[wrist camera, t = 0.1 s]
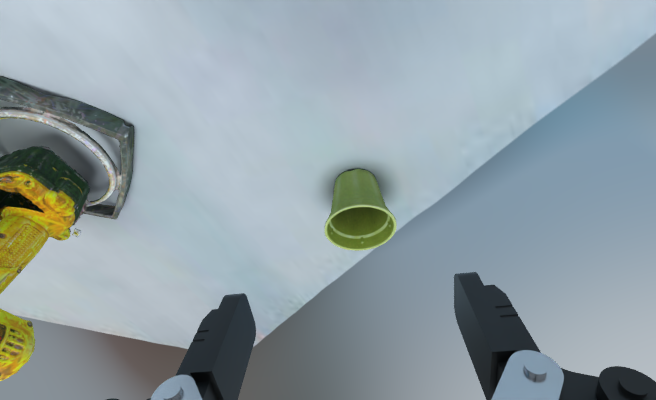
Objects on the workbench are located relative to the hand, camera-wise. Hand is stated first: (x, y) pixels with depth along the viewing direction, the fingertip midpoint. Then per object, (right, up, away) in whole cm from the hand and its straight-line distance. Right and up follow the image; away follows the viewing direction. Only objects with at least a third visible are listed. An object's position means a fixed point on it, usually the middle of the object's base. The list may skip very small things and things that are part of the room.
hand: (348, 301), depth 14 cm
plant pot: (+3, +6, +39) cm, 40 cm away
